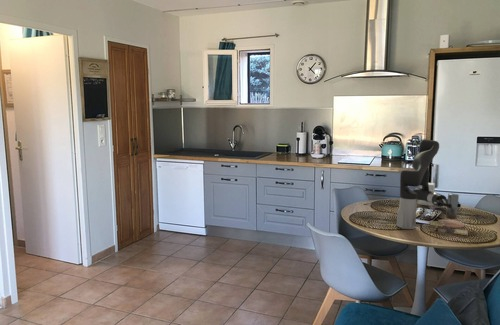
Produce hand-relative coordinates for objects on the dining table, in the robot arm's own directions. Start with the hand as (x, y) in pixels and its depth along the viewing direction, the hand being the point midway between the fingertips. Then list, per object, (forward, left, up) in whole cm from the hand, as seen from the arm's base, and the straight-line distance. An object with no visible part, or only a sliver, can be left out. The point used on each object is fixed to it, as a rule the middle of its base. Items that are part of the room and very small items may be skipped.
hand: (455, 206), depth 236 cm
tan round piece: (0, +2, -12) cm, 12 cm away
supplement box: (+18, +51, -12) cm, 56 cm away
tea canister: (0, +3, -8) cm, 8 cm away
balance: (-13, -12, -12) cm, 21 cm away
